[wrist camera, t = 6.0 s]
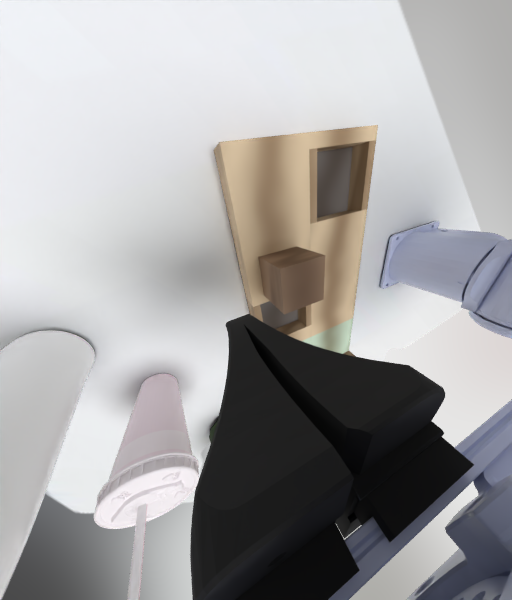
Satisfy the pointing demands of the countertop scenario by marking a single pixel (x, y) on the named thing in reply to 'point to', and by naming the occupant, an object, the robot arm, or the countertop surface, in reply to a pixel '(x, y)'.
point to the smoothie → (149, 467)
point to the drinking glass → (34, 427)
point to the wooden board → (301, 219)
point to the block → (293, 278)
